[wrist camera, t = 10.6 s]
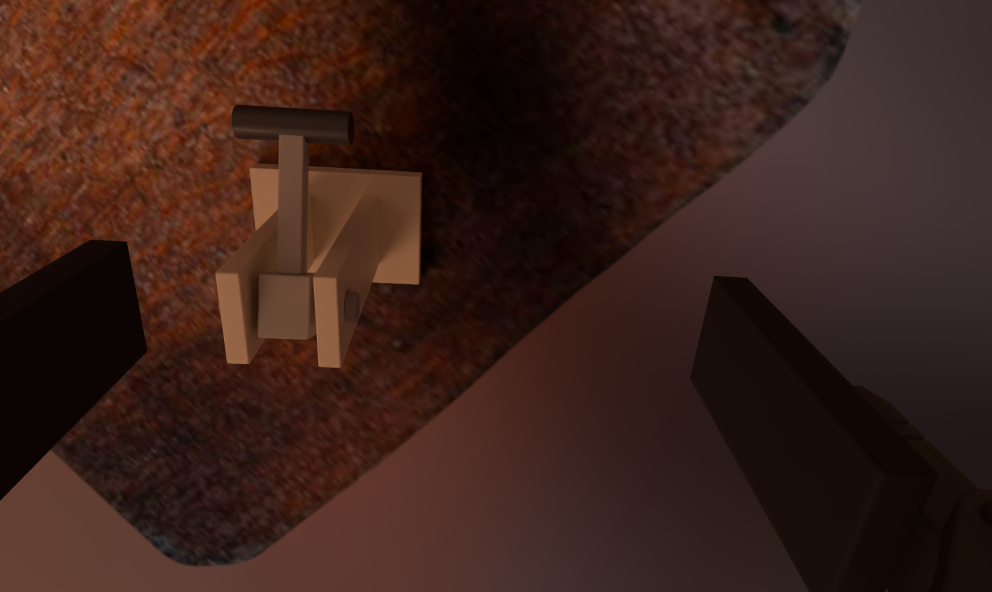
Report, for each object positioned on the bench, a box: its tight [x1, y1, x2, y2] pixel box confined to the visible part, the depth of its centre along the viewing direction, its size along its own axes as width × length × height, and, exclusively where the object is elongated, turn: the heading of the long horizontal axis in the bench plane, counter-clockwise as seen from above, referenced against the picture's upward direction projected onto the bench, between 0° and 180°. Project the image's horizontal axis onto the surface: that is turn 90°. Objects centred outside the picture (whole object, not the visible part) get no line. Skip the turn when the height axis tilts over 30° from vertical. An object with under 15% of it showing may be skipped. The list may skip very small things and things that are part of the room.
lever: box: [232, 105, 354, 340], centre depth 28 cm, size 10×5×2 cm, turn 175°
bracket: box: [216, 163, 422, 368], centre depth 33 cm, size 7×10×14 cm
